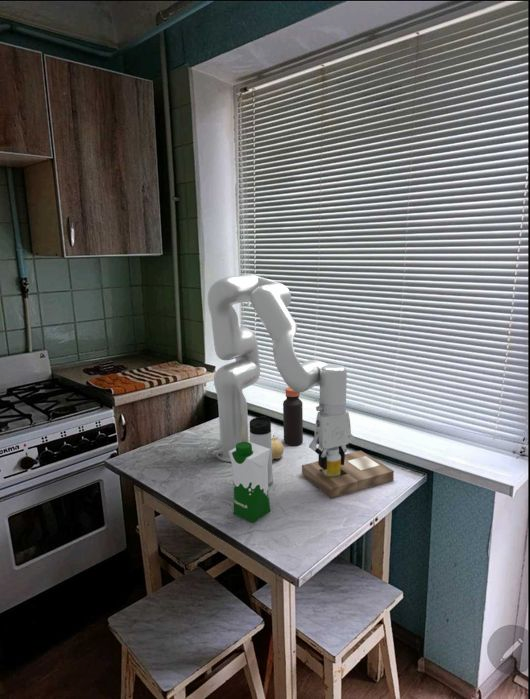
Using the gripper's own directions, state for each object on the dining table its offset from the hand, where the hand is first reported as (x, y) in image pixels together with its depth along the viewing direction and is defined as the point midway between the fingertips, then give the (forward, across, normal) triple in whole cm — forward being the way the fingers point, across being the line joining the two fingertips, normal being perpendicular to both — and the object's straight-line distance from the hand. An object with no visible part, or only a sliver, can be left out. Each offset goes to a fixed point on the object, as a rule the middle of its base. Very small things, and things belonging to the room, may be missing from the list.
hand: (331, 464), depth 138 cm
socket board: (+5, +5, 0) cm, 7 cm away
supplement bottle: (+4, 0, 0) cm, 4 cm away
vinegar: (+6, +3, +30) cm, 30 cm away
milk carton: (+5, -28, -4) cm, 29 cm away
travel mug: (+6, -19, +9) cm, 21 cm away
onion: (+6, -9, +23) cm, 25 cm away
